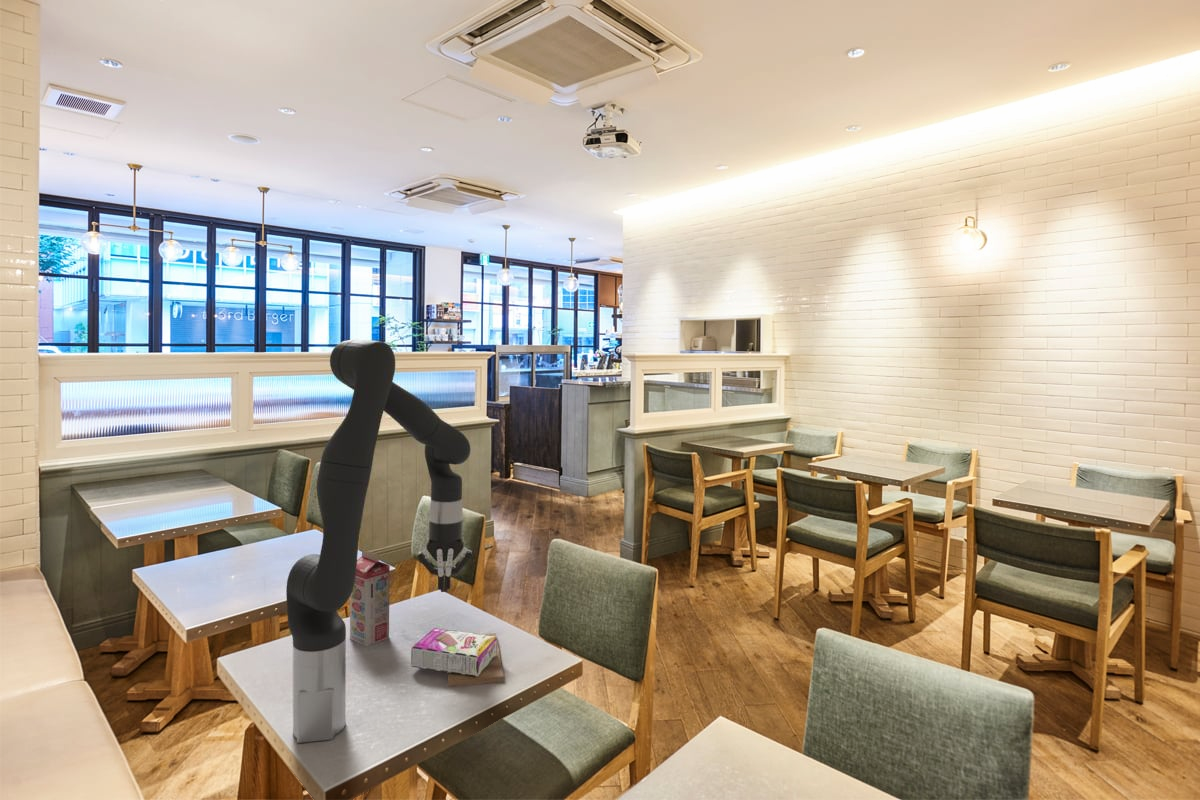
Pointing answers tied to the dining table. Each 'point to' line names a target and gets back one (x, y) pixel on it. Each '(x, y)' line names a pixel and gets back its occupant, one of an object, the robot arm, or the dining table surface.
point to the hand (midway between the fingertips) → (444, 590)
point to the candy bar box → (454, 652)
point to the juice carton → (370, 601)
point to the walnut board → (488, 675)
